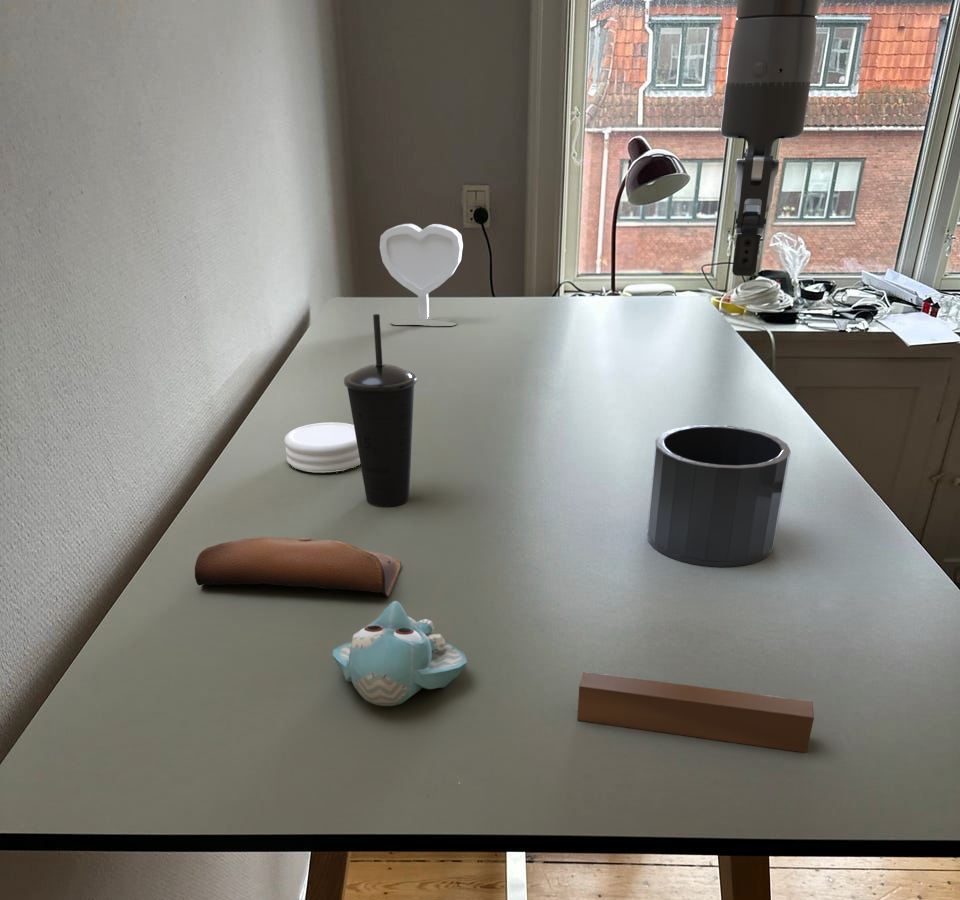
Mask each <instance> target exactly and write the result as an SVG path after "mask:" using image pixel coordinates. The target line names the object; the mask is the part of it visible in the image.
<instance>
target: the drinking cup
mask: <svg viewBox="0 0 960 900" xmlns="http://www.w3.org/2000/svg"><path fill="white" fill-rule="evenodd" d="M372 320H373V336H374V350H375V351H374V352H375V364H370V365H366V366H363V367H361V368H358V369H357V370H354V371H353V372H350V373H348V374H347V375H345V376H344V378H343V384H344V387H346V388H347V394H348V399H349V405H350V411H351V416H352V422H353V425H354V429H355V435H356V441H357V446H358V452H359V458H360V464H361V465H360V469H361V475H362V480H363V486H364V492H365V498H366V501H367V503H369V504H370V505H372V506H375V507H386V508H389V507H396V506H401V505H403V504H405V503H407V502H408V501H409V499H410V490H411V488H410V487H411V466H412V465H411V464H412V441H413V422H414V421H413V420H414V419H413V417H414V397H415V396H414V394H415V385H416V384H417V375H416V373H414V372H411V371H409V370H406V369H404V368H402V367H399V366H397V365H392V364H387V363H383V348H382V329H381V314H379V313H374V314H373V315H372Z"/></svg>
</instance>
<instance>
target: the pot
mask: <svg viewBox="0 0 960 900" xmlns="http://www.w3.org/2000/svg"><path fill="white" fill-rule="evenodd" d="M791 451H792V450H791V449H790V446H789V445H788V444H787V443H786V442H785V441H783V440H782V439H780V438H779V437H778V436H775V435H772V434H769V433H767V432H765V431H760V430H756V429H752V428H747V427H741V426H734V425H726V424H725V425H724V424H723V425H721V424H720V425H719V424H698V425H686V426H680V427H677V428H672V429H669V430H667V431H665V432H662V433H661V434H659V436H657V438H656V439H655V440H654V451H653V461H652V462H653V463H652V472H651V484H650V492H649V493H650V494H649V504H648V514H647V515H648V516H647V517H648V518H647V526H646V528H647V530H646V531H647V532H646V538H647V540H648V543H649V545H650V546H651V547H652V548H653V549H654V550H656V551H657V552H659V553H660V554H662V555H663V556H666V557H668V558H670V559H673V560H676V561H679V562H682V563H686V564H690V565H697V566H701V567H703V566H704V567H711V568H732V567H741V566H746V565H747V566H748V565H752V564H754V563H758V562H760V561H763V560H764V559H766V558H767V557H769V555H771V553H772V552H773V550H774V546H775V543H776V539H777V533H778V527H779V521H780V516H781V510H782V503H783V499H784V492H785V487H786V482H787V481H786V480H787V477H788V476H787V475H788V469H789V463H790V458H791Z"/></svg>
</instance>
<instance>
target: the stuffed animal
mask: <svg viewBox="0 0 960 900" xmlns="http://www.w3.org/2000/svg"><path fill="white" fill-rule="evenodd" d="M434 629H435V626H434V623H433V621H432V620H430V619H427V618H424V619H420V620H418V621H417V620H416V619H414V618H412V617H410V616H408V615H407V613H406V611H405V609H404V608H403V605H402V604H401V602H399V601H398V600H393V601H391V602H390V603H389V604H388V606H386V607H385V609H384V610H383V611H382V612H381V614H380V615H379V617H378V618H376V619H374V620H373V621H372V622H371V623H369V624H368V625H366V626H365V627H363V628H361V629H360V630H358V631H356V632H355V633H354V634H353V635H352V638H351V641H349V642H345V643H343V644H342V645H339V646H338V647H336V648H334V649H332V657H333V659H334V660H335V663H336V664H337V667H338V669H339V670H340V671H341V673H342V674H343V676H344V679H345V681H346V682H350V683H352V685H353V687H354V689H355V690H356V691H357V692H358V694H359V695H360V696H361V697H362V698H363V700H364V701H366V702H368V703H370V704H372V705H376V706H381V707H394V706H397V705H398V706H399V705H401V704H403V703H405V702H406V701H407V700H408V699H410V698H411V697H412V696H414V695H415V694H417V693H418V692H419V691H421V689H425V690H434V689H438V688H445V687H446V686H448V685H449V684H450V683H451V682H452V681H453V680H454V679H456V678H458V677H459V676H460V675H461V673H462V671H463V670H464V668H465V666H466V665H467V663H468V661H467V660H468V659H467V657H466V655H465V653H464V652H462V651H461V650H460V649H459V648H456V647H455V646H454V645H452V644H450V643H448V642H446V641H445V638H444V637H443V635H442V634H440V633H433V632H434ZM433 652H434V653H433Z"/></svg>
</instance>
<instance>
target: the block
mask: <svg viewBox="0 0 960 900" xmlns="http://www.w3.org/2000/svg"><path fill="white" fill-rule="evenodd" d="M577 701H578V702H577V717H576V720H577V721H580V722H587V723H593V724H603V725H609V726H616V727H621V728H623V727H624V728H629V729H637V730H645V731H650V732H658V733H666V734H671V735H672V734H673V735H679V736H687V737H693V738H701V739H706V740H715V741H721V742H727V743H735V744H742V745H749V746H756V747H764V748H771V749H778V750H785V751H791V752H798V753H806V754H807V753H808V748H809V743H810V738H811V733H812V728H813V724H814V720H815V713H814V703H813V701H811V700H805V699H797V698H788V697H780V696H773V695H765V694H757V693H749V692H743V691H735V690H726V689H719V688H712V687H705V686H704V687H703V686H696V685H689V684H682V683H674V682H673V683H672V682H666V681H665V682H664V681H658V680H650V679H643V678H635V677H627V676H619V675H612V674H604V673H596V672H590V671H583V672H582V675H581V679H580V681H579V686H578V699H577Z"/></svg>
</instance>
